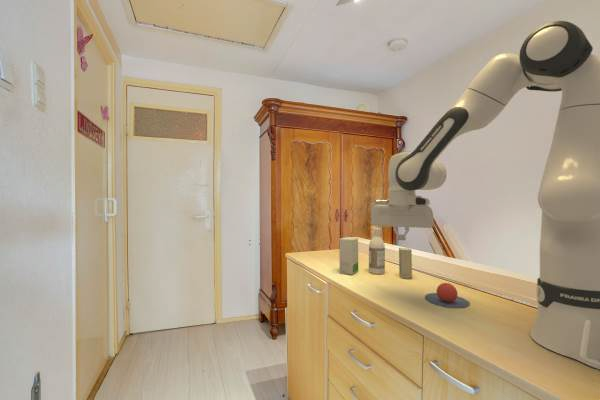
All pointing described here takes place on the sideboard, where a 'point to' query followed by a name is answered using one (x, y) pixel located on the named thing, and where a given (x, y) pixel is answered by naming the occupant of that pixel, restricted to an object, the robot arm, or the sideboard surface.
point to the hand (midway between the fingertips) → (401, 240)
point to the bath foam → (376, 254)
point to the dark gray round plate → (455, 304)
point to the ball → (447, 292)
